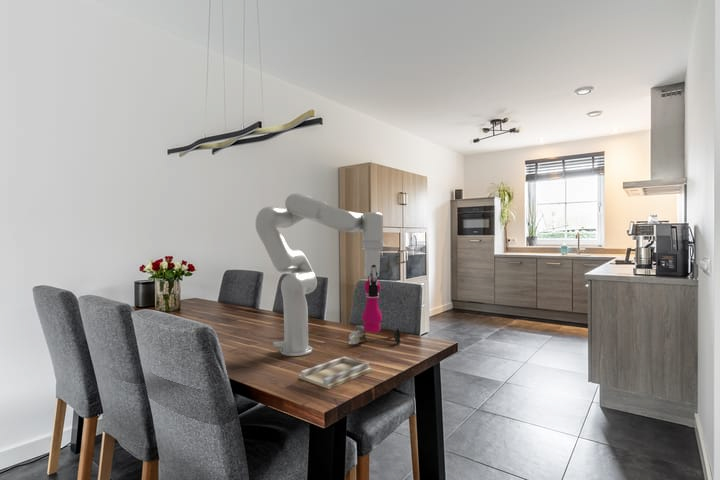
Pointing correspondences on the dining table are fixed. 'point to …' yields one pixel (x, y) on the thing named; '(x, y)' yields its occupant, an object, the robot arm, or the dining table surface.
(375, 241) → the robot arm
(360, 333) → the artificial flower
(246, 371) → the dining table surface
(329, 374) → the rail board
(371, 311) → the pepper mill
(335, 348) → the dining table surface
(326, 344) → the dining table surface
